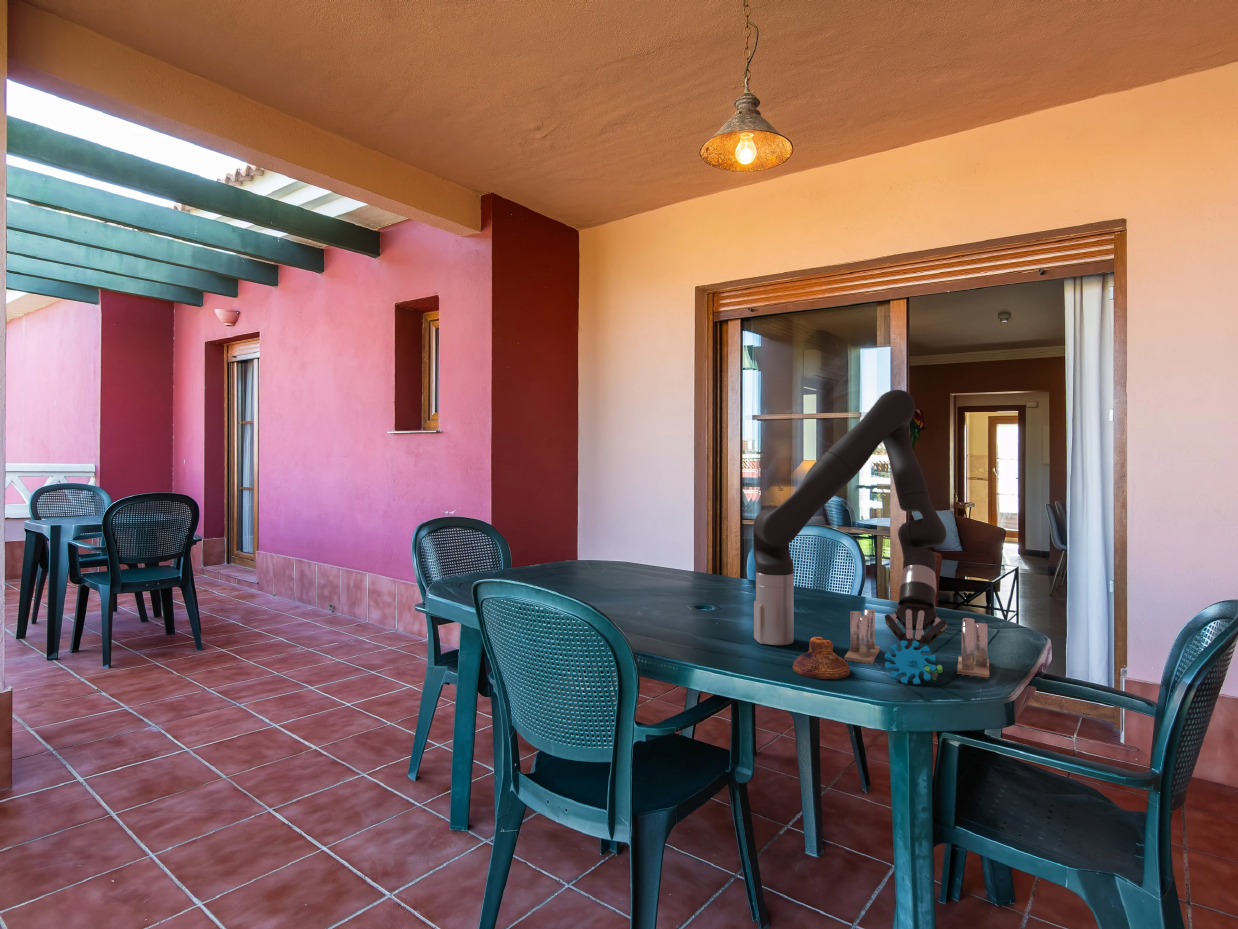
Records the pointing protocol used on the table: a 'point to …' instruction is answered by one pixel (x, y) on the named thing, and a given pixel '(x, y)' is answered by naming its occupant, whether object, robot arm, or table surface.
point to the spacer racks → (976, 672)
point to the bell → (821, 661)
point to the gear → (912, 663)
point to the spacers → (971, 638)
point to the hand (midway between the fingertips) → (912, 658)
